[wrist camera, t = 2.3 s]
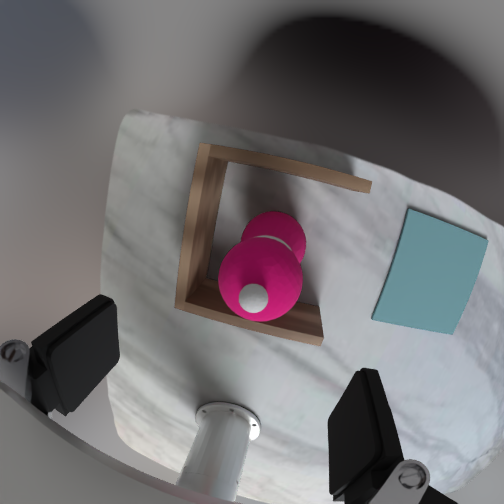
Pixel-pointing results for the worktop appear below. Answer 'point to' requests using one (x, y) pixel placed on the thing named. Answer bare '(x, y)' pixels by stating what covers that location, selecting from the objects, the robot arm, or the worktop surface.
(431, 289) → the mat
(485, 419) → the worktop surface
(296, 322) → the open side box
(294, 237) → the pepper mill
